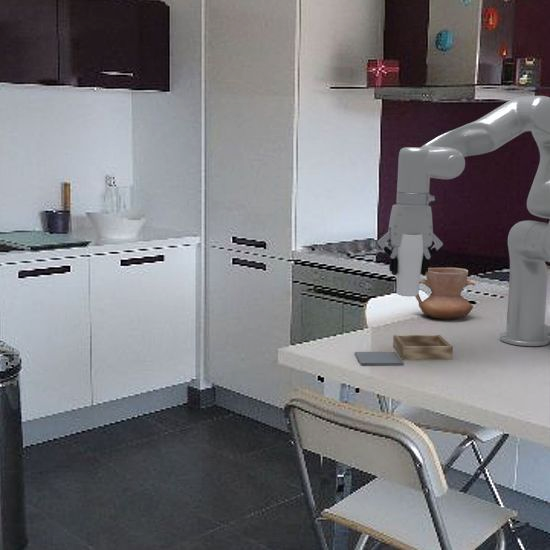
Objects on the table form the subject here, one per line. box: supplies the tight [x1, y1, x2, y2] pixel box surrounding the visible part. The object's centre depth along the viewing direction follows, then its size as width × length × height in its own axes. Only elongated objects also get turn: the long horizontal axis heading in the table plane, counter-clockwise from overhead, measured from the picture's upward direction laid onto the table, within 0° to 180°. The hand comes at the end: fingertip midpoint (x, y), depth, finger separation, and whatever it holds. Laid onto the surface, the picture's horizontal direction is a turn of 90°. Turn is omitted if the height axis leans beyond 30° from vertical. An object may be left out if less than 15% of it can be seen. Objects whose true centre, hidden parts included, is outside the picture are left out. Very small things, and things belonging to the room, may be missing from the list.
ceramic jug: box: [414, 267, 477, 321], centre depth 249 cm, size 18×14×14 cm
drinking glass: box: [395, 234, 424, 297], centre depth 203 cm, size 7×7×15 cm
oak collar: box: [392, 334, 454, 360], centre depth 209 cm, size 12×12×3 cm
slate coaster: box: [354, 351, 405, 367], centre depth 203 cm, size 10×10×1 cm
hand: (408, 273), depth 203 cm, fingers closed on drinking glass, 6 cm apart
